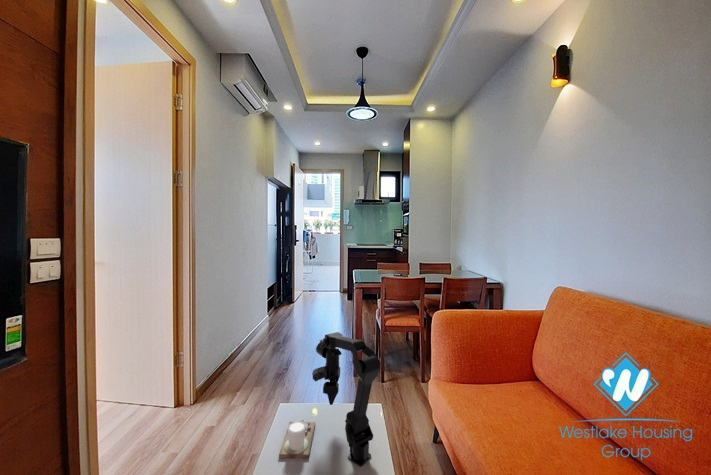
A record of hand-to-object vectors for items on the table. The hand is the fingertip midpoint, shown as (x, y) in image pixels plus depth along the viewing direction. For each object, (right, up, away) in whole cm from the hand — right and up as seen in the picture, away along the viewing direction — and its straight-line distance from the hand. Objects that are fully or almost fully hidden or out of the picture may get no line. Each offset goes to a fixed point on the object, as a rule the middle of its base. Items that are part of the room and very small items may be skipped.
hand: (331, 398), depth 123 cm
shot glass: (-13, -10, -14) cm, 21 cm away
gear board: (-13, -12, -9) cm, 20 cm away
